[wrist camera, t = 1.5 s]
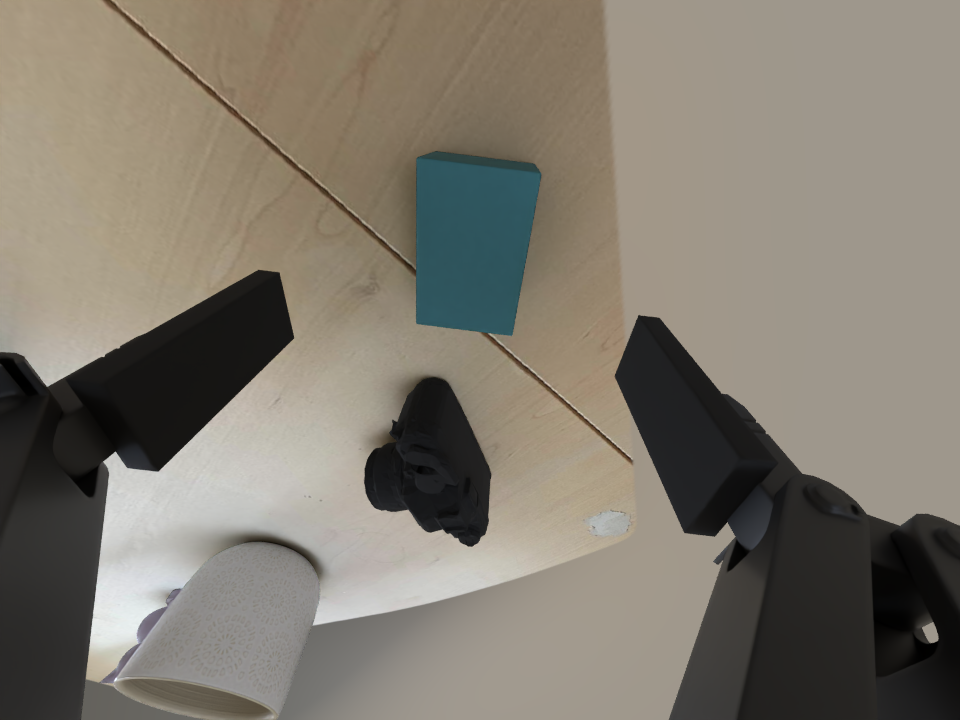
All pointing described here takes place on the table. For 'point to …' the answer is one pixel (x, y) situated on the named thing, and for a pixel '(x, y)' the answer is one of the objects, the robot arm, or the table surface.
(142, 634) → the cat figurine
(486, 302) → the teal rectangular block
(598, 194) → the table surface
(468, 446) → the film camera
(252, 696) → the planter
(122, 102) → the table surface
